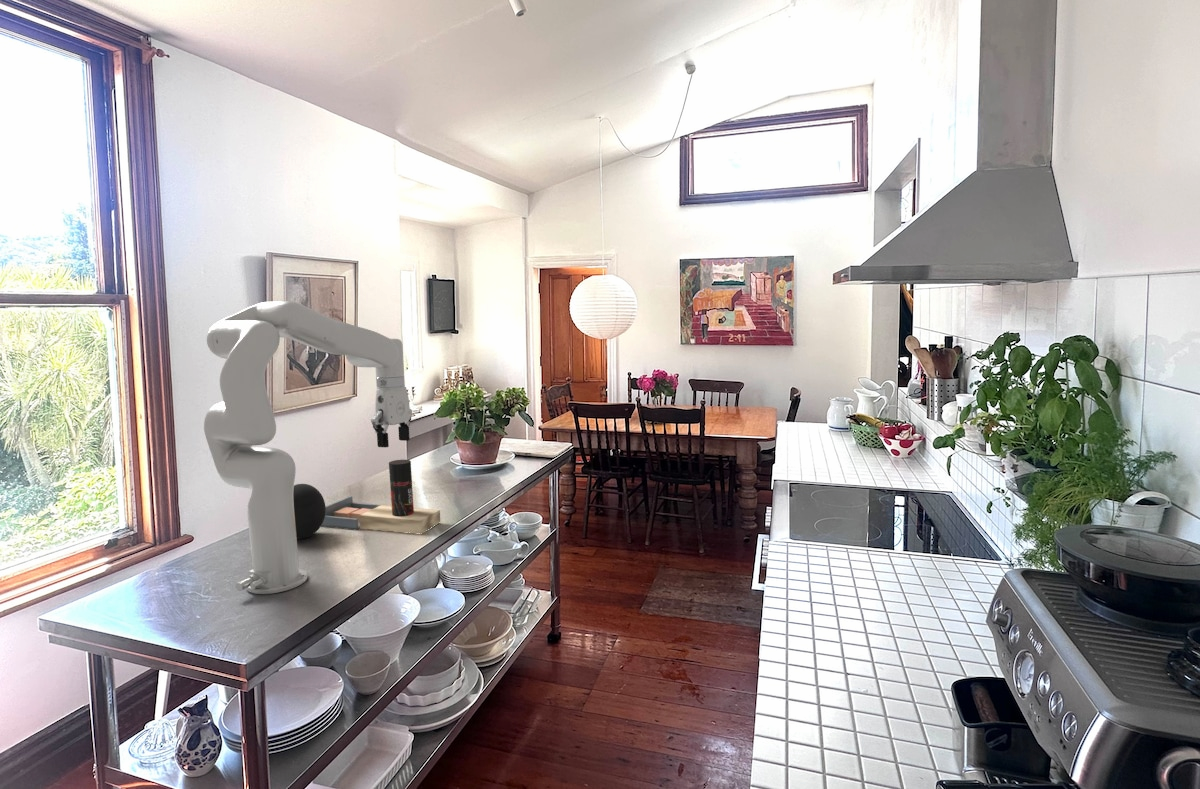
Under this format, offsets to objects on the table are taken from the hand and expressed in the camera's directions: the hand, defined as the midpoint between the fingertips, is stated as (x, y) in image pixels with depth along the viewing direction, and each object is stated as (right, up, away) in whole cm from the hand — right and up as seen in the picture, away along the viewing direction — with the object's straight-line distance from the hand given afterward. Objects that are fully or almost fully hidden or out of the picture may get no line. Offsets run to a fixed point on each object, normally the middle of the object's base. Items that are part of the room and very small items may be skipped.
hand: (394, 443), depth 185 cm
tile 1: (-17, -21, +10) cm, 29 cm away
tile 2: (-12, -23, +9) cm, 27 cm away
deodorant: (+2, -20, +3) cm, 21 cm away
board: (+1, -24, +4) cm, 24 cm away
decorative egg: (-24, -26, -3) cm, 35 cm away
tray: (-15, -24, +10) cm, 30 cm away
